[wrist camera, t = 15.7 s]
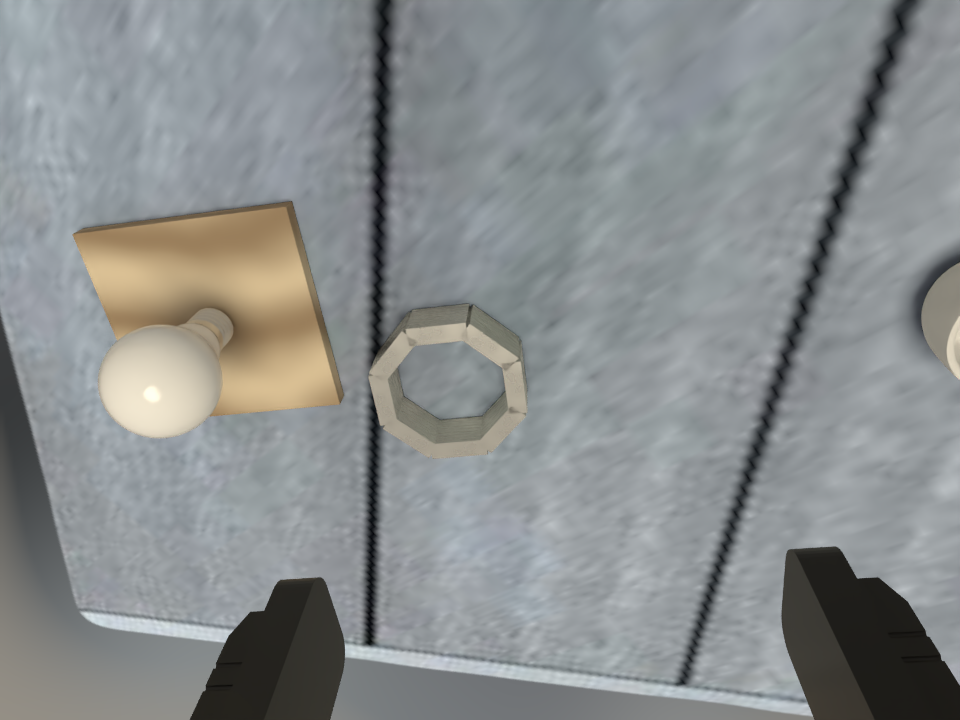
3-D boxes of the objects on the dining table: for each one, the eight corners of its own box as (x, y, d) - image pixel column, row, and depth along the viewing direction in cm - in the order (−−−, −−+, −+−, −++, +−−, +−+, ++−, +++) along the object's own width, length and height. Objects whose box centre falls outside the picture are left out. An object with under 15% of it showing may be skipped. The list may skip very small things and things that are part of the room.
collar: (367, 314, 47) (358, 334, 44) (515, 298, 45) (514, 317, 43) (396, 438, 51) (389, 462, 48) (532, 426, 50) (532, 450, 47)
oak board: (83, 228, 45) (72, 234, 44) (291, 201, 43) (285, 206, 42) (159, 412, 51) (151, 421, 50) (344, 395, 50) (339, 404, 49)
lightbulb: (279, 355, 47) (214, 450, 37) (194, 372, 48) (109, 469, 38) (242, 267, 44) (161, 346, 35) (152, 288, 45) (50, 370, 36)
